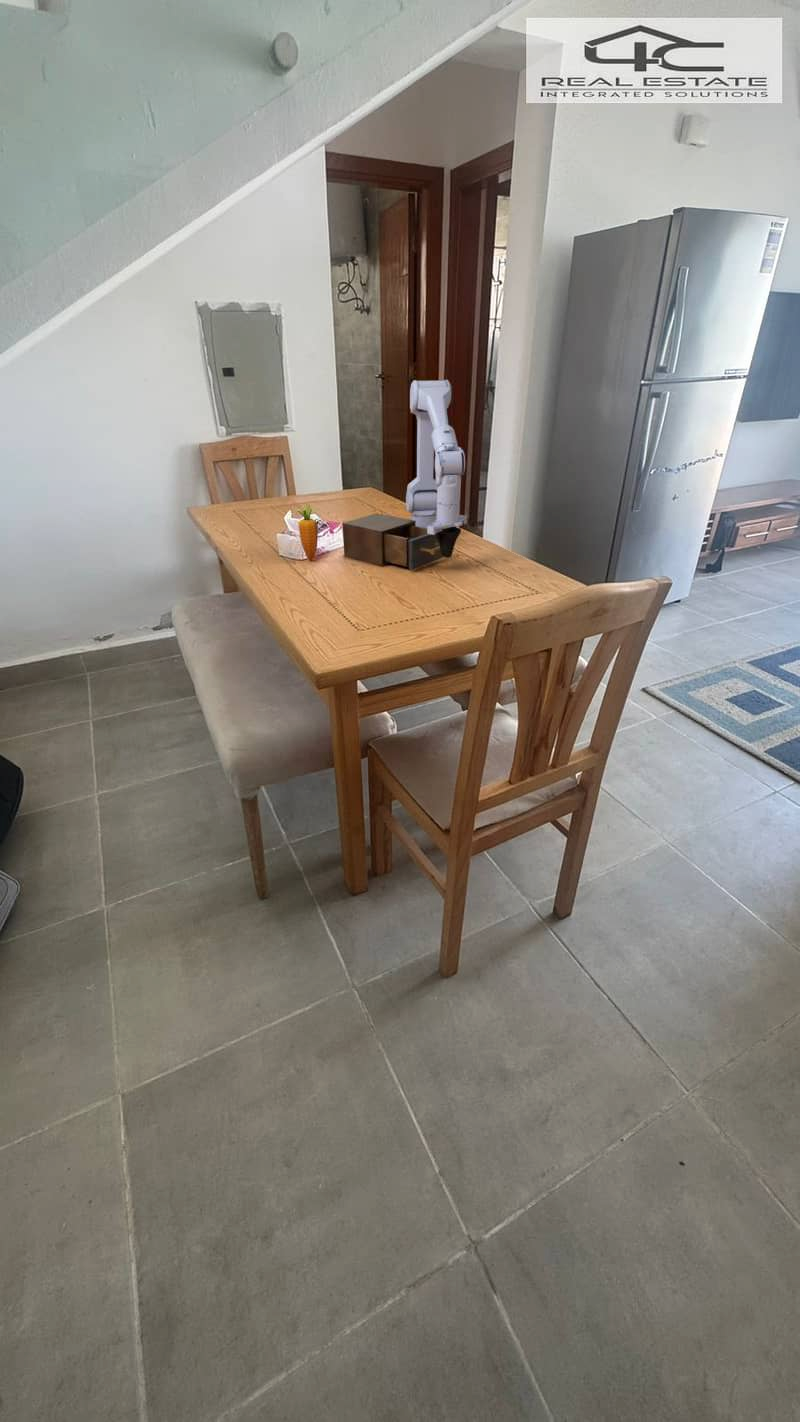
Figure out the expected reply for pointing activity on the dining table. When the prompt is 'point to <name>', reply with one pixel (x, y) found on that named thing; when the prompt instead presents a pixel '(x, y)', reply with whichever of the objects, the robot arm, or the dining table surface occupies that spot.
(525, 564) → the dining table surface
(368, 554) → the cabinet
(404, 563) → the drawer
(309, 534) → the carrot
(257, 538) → the dining table surface
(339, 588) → the dining table surface
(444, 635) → the dining table surface
